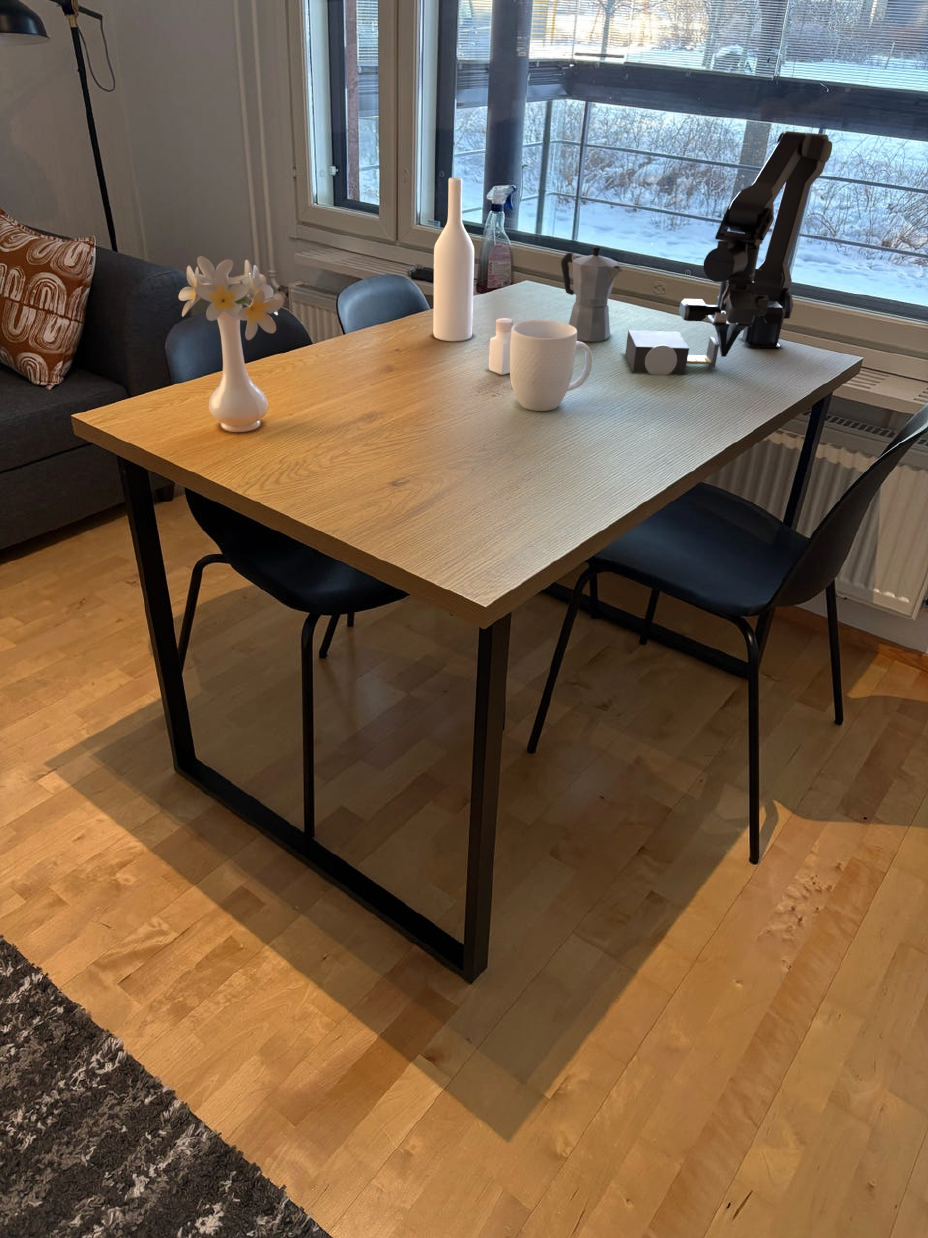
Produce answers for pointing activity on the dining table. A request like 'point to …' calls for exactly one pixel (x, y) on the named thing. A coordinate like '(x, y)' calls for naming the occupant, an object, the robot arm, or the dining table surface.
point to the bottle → (453, 273)
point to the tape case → (656, 352)
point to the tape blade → (708, 358)
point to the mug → (544, 363)
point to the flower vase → (234, 336)
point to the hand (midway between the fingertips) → (723, 356)
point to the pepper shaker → (501, 347)
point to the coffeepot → (590, 293)
